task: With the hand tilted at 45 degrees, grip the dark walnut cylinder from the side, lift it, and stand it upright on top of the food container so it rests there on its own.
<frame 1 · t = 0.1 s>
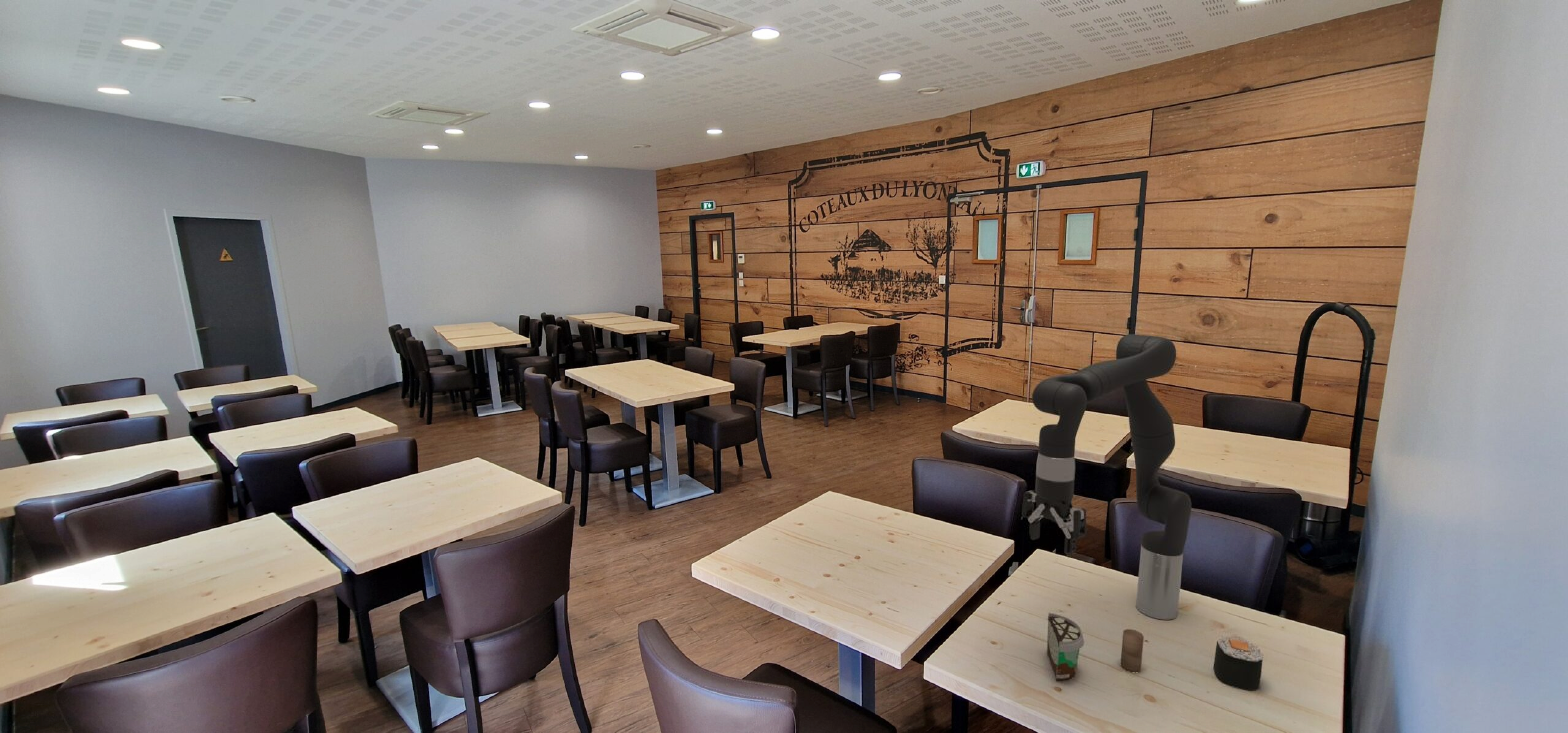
hand: (1051, 545, 135), 29 cm above the table, tool pointing down, fingers open, 8 cm apart
food container: (1065, 670, 140), on the table
sushi: (1236, 679, 136), on the table
walnut cylinder: (1130, 667, 140), on the table
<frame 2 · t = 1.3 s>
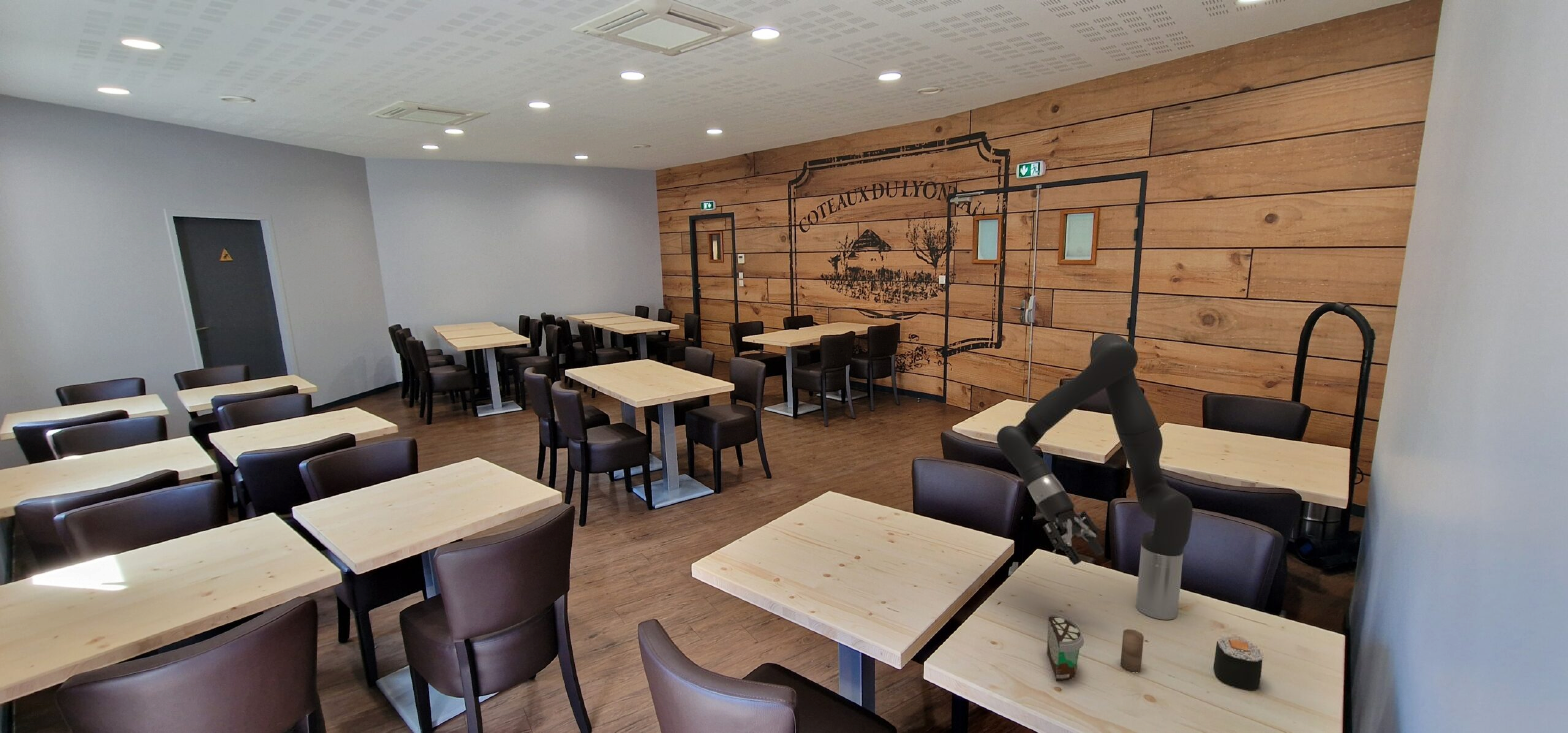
hand: (1089, 558, 146), 21 cm above the table, tool tilted 45°, fingers open, 8 cm apart
nothing on the table moved.
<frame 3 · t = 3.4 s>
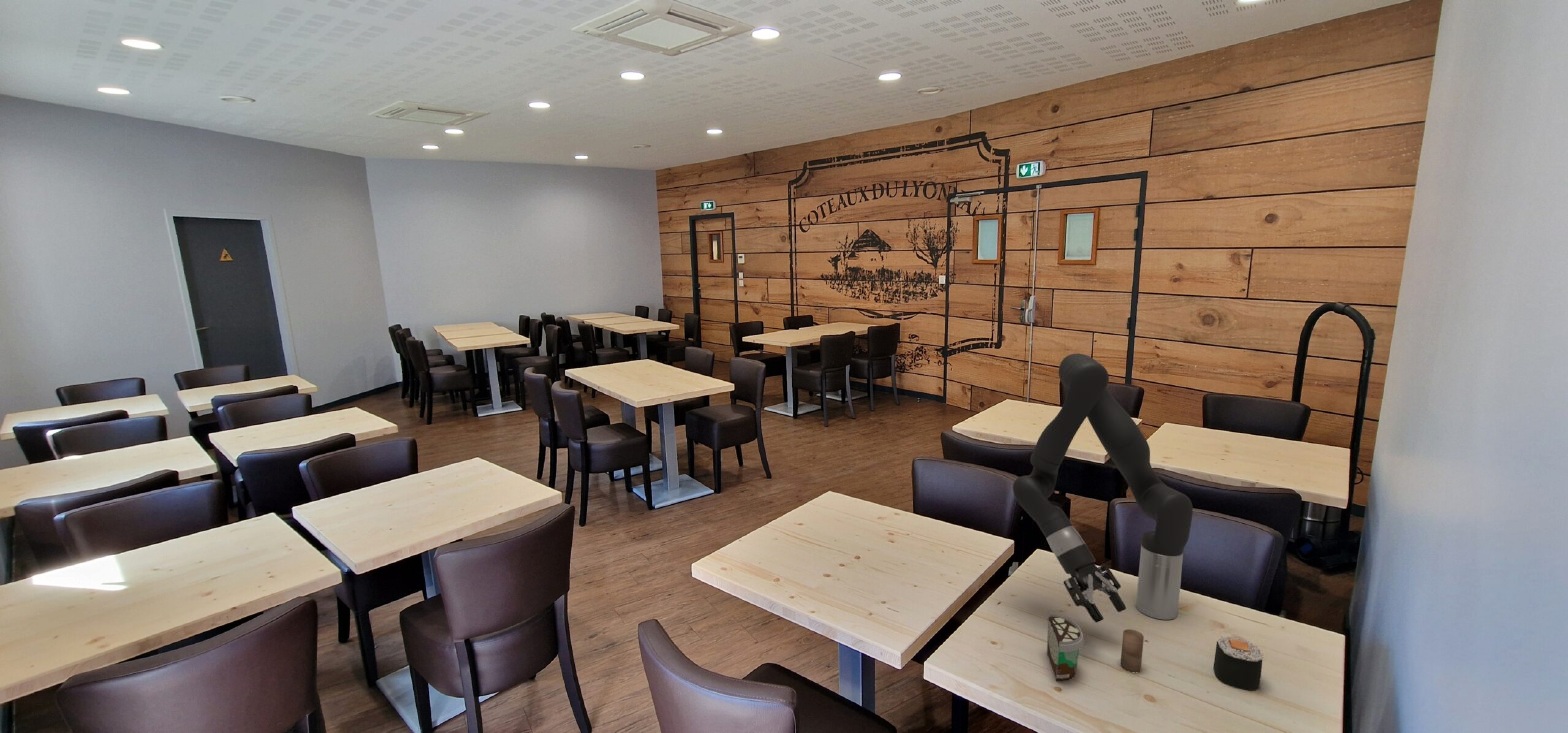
hand: (1111, 615, 143), 10 cm above the table, tool tilted 45°, fingers open, 8 cm apart
nothing on the table moved.
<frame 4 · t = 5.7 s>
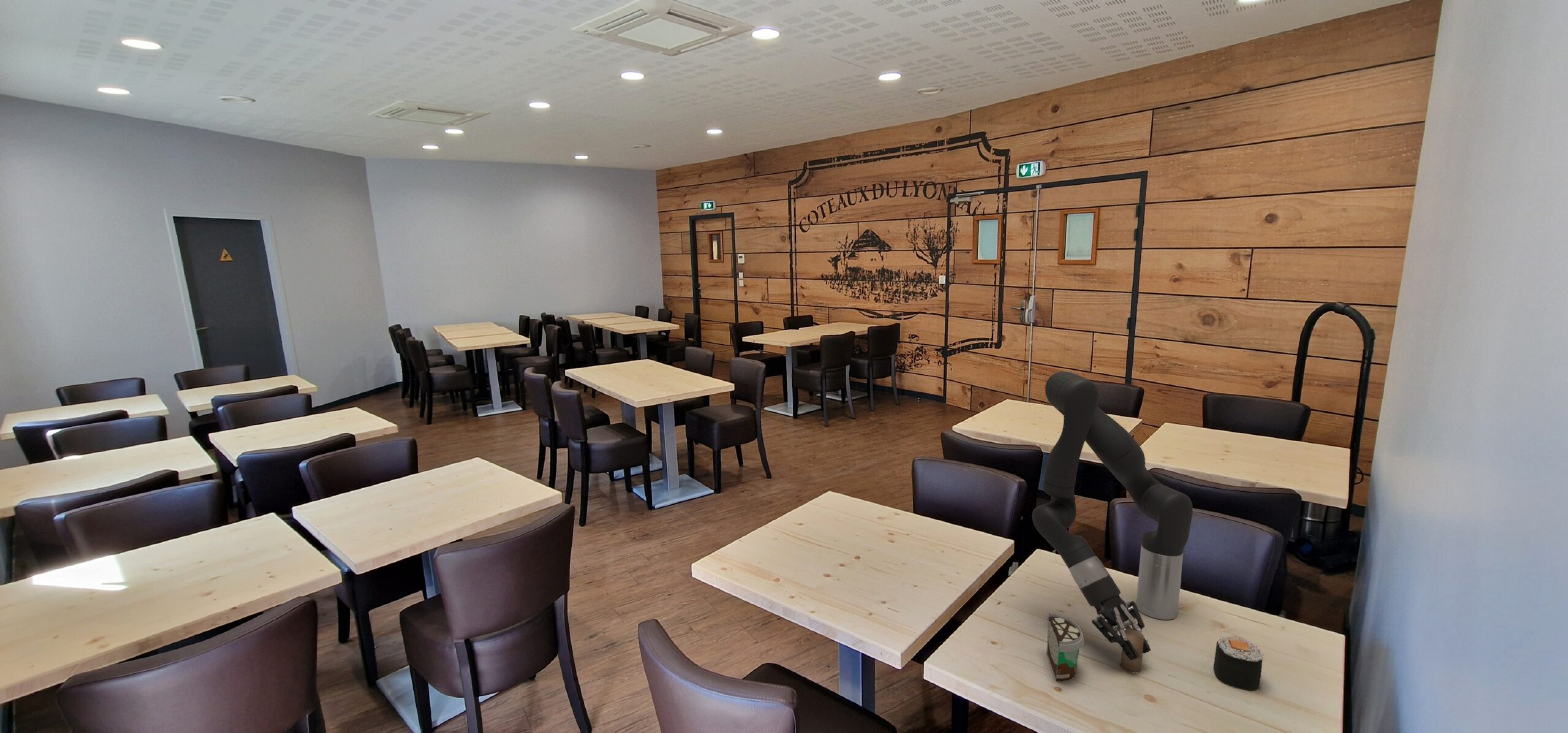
hand: (1140, 655, 138), 4 cm above the table, tool tilted 45°, fingers closed on walnut cylinder, 4 cm apart
walnut cylinder: (1130, 667, 140), on the table, touching gripper
everything else where it was.
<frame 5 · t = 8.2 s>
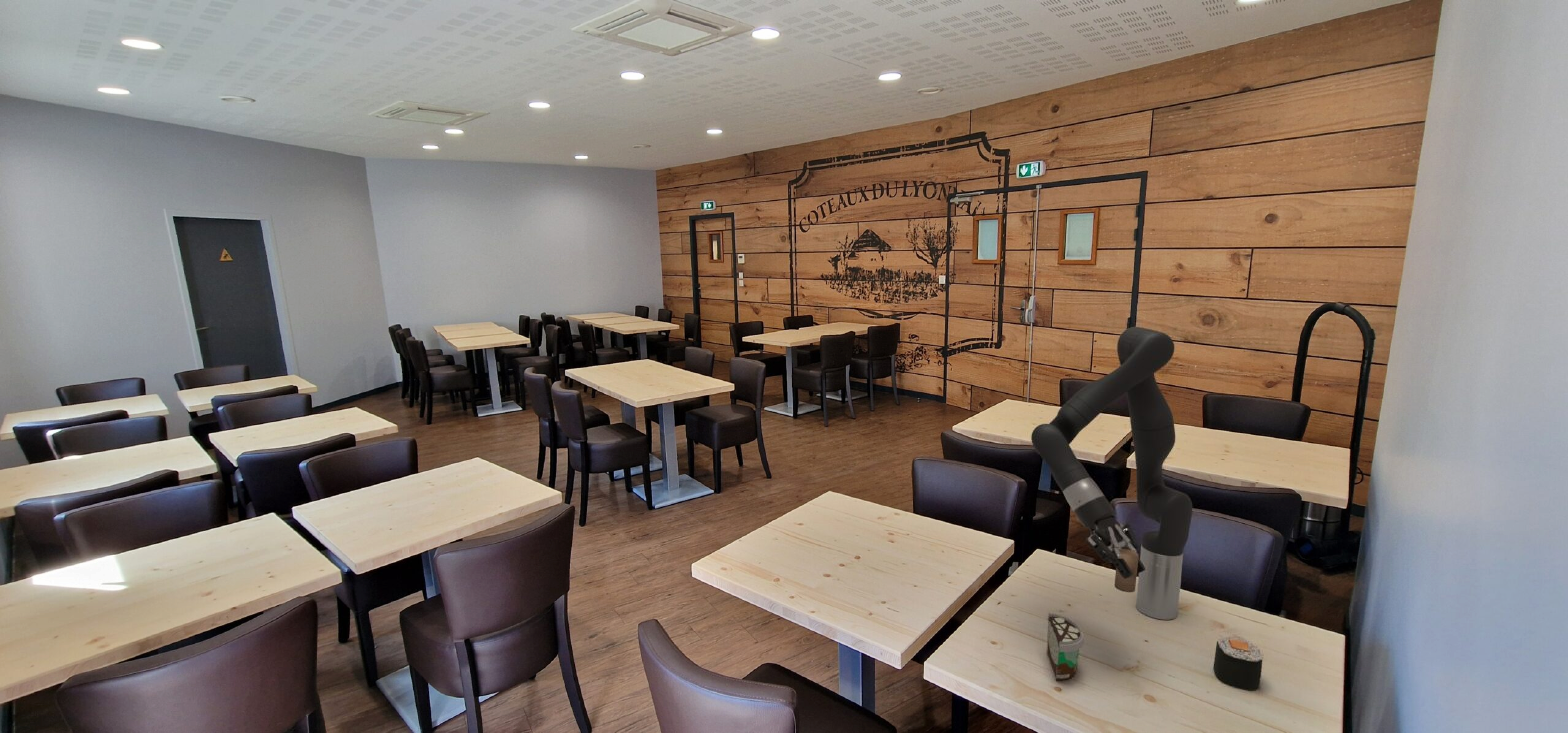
hand: (1135, 574, 134), 23 cm above the table, tool tilted 45°, fingers closed on walnut cylinder, 4 cm apart
walnut cylinder: (1124, 587, 137), point 19 cm above the table, touching gripper
everything else where it was.
when the fingers open (15 cm above the table, at t = 11.0 s): walnut cylinder drops 1 cm, resting on food container.
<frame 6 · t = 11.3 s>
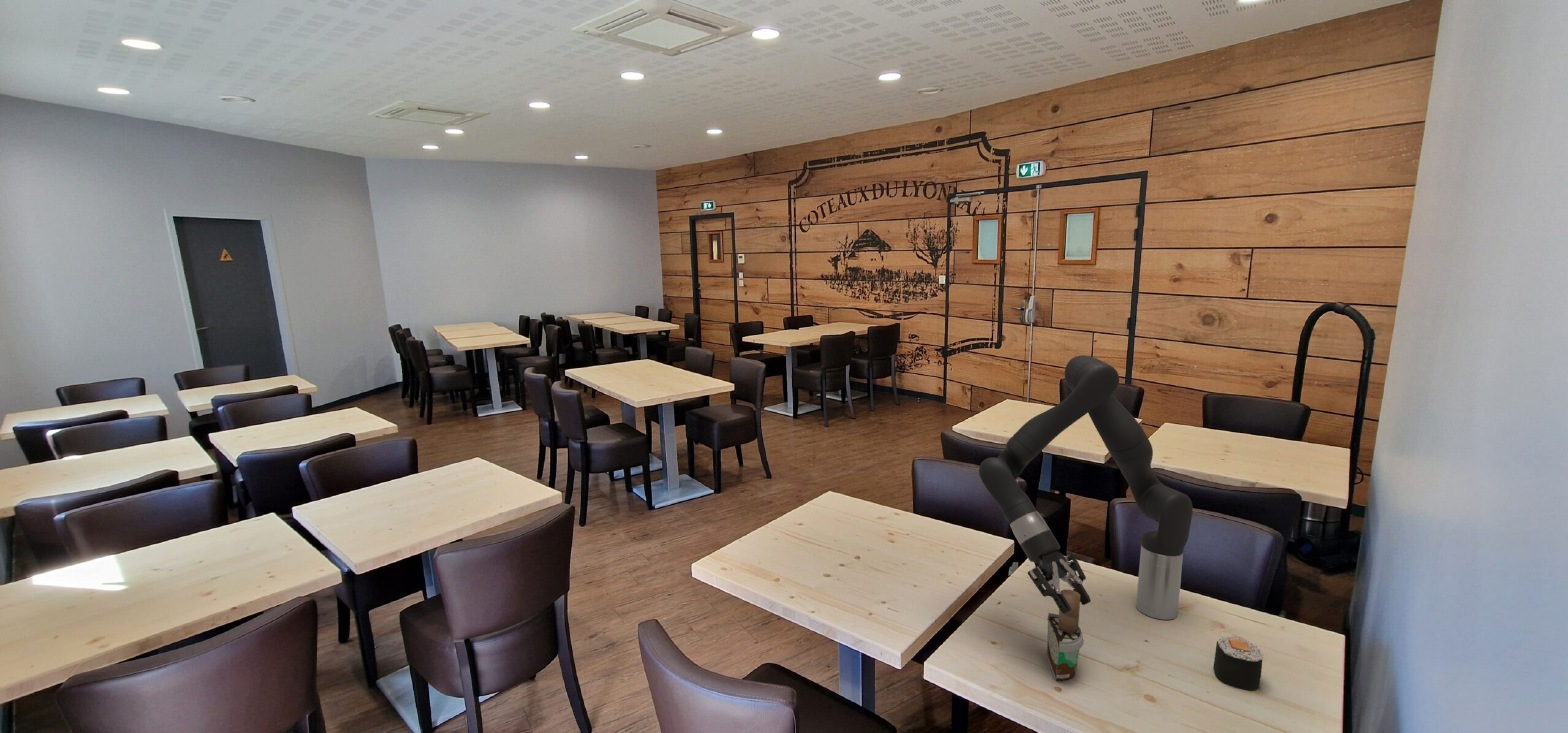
hand: (1077, 607, 135), 16 cm above the table, tool tilted 45°, fingers open, 6 cm apart
food container: (1065, 670, 140), on the table, touching walnut cylinder
walnut cylinder: (1068, 628, 138), point 10 cm above the table, touching food container
everything else where it was.
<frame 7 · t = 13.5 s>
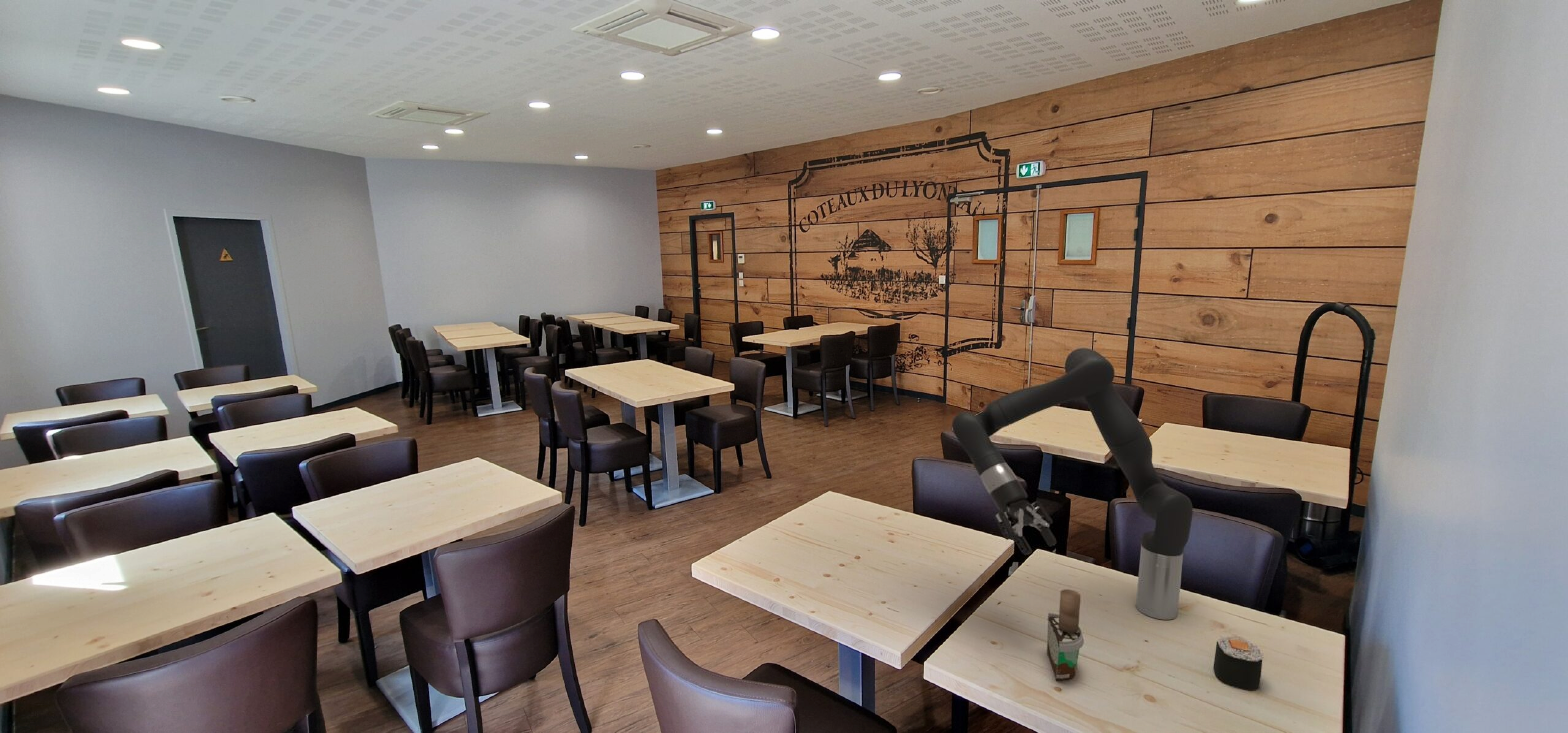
hand: (1041, 549, 142), 25 cm above the table, tool tilted 45°, fingers open, 8 cm apart
nothing on the table moved.
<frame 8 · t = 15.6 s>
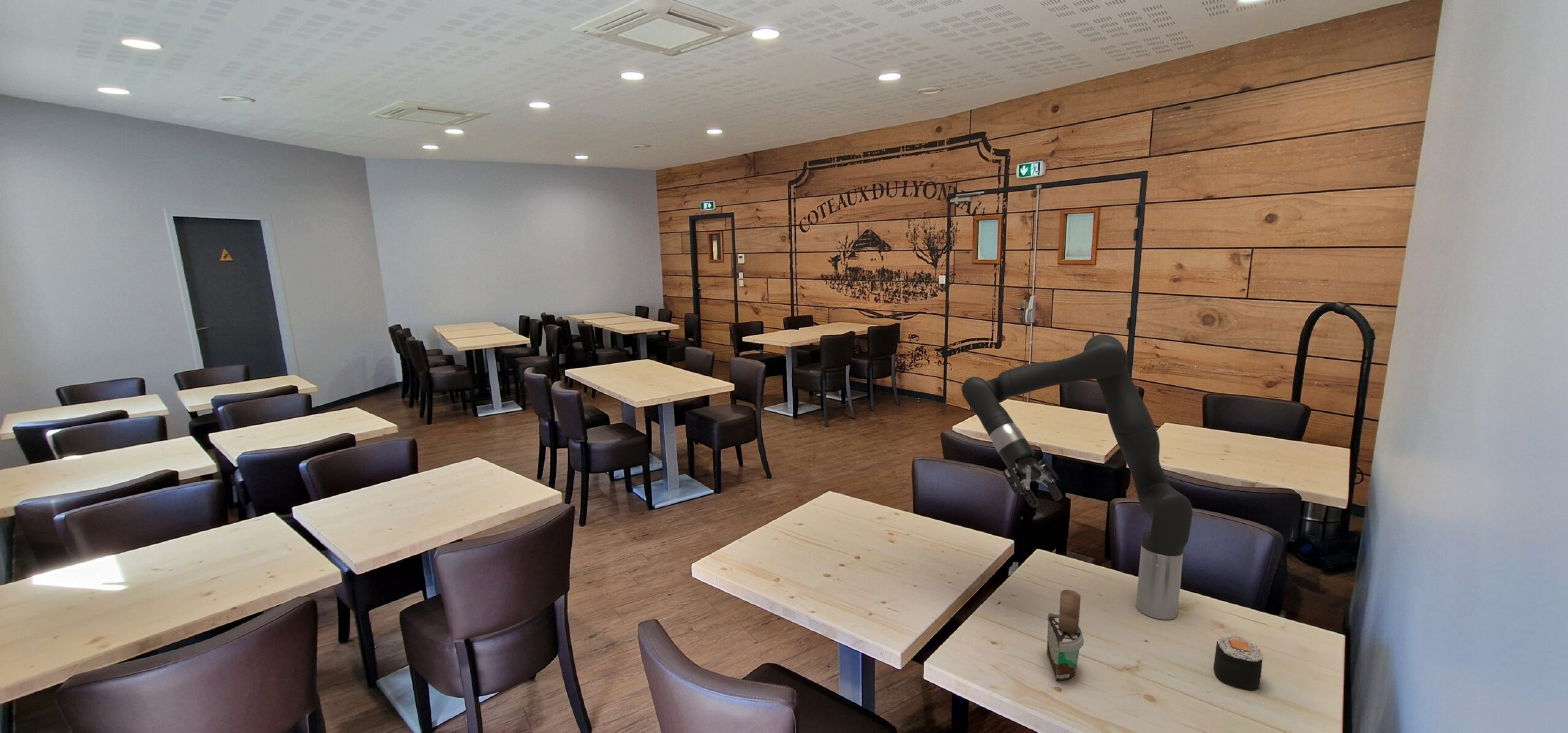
hand: (1047, 502, 150), 33 cm above the table, tool tilted 45°, fingers open, 8 cm apart
nothing on the table moved.
at the end: walnut cylinder inside the target area on the food container (0.1 cm from its centre), point 10.2 cm above the food container's base; walnut cylinder tilted 1°; the gripper is holding nothing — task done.
